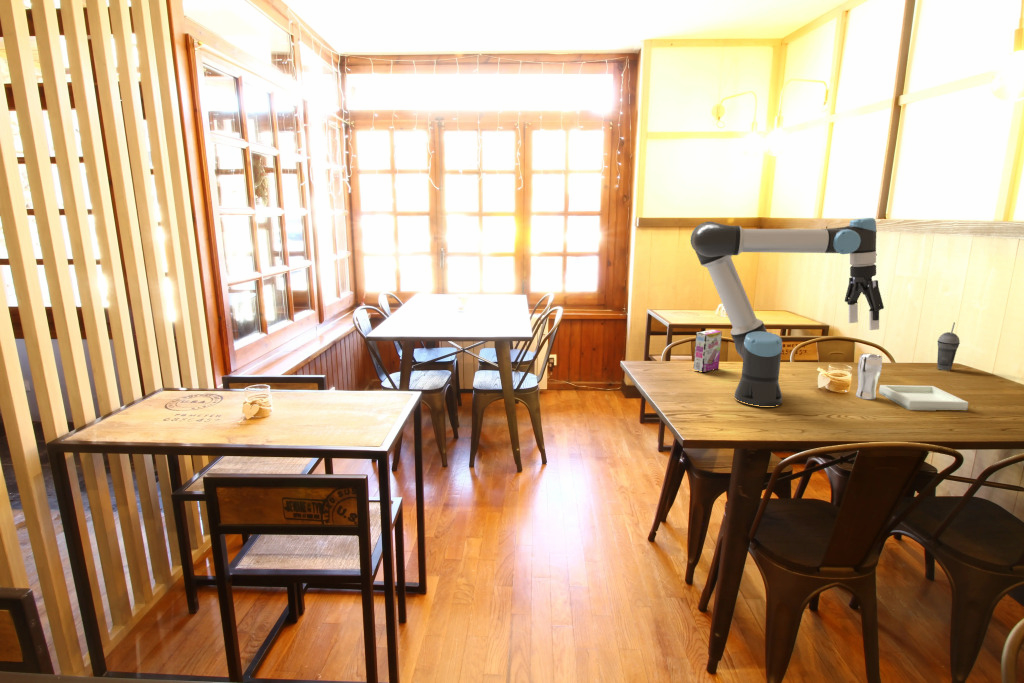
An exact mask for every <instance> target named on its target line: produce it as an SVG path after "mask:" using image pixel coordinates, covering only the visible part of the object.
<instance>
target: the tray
mask: <svg viewBox="0 0 1024 683" xmlns="http://www.w3.org/2000/svg"><path fill="white" fill-rule="evenodd" d="M878 394H880V395H882V396H883V397H885V398H887V399H888V400H891V401H892V402H894V403H896V404H898V405H899V406H900V407H902V408H904V409H907V410H908V411H936V410H966V411H965V412H968V407H969V402H968V401H966V400H964V399H962V398H961V397H958V396H955V395H954V394H952V393H949V392H947V391H945V390H943V389H941V388H938V387H936V386H935V385H906V384H905V385H902V384H901V385H898V384H897V385H896V384H893V385H891V384H879V389H878Z"/></svg>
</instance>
